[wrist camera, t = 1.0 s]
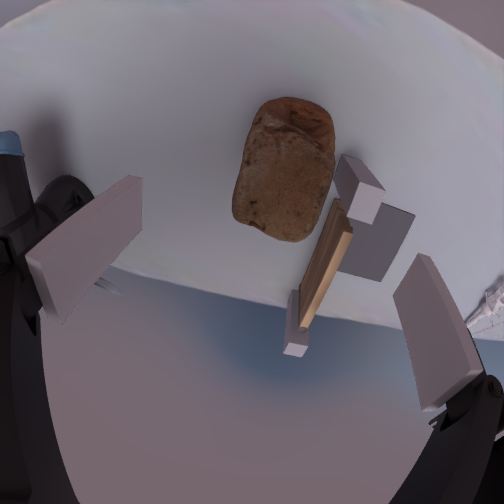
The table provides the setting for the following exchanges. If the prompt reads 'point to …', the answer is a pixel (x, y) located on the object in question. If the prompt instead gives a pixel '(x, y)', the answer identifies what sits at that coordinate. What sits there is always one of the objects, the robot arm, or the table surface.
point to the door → (323, 264)
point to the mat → (376, 243)
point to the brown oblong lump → (285, 169)
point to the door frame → (355, 206)
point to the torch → (489, 308)
